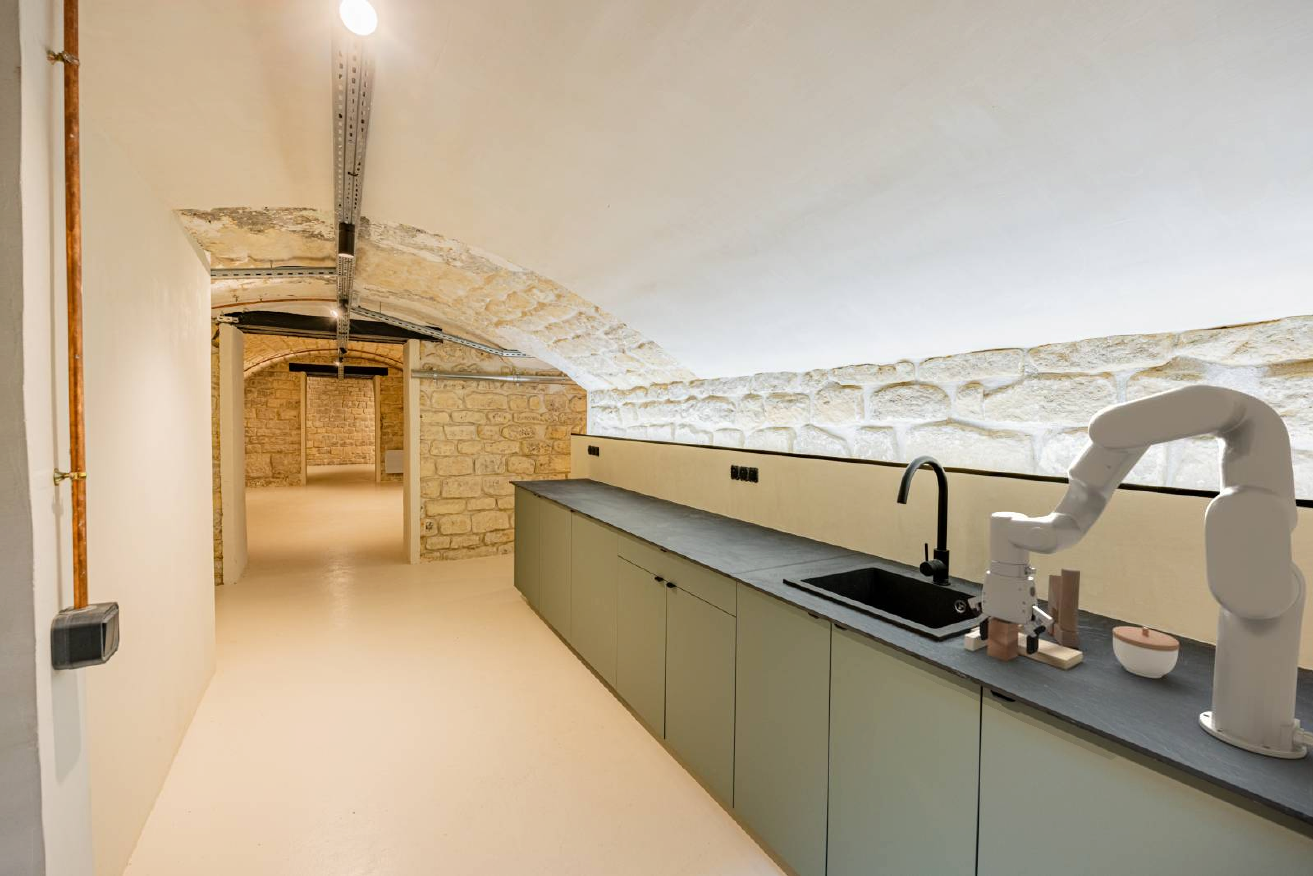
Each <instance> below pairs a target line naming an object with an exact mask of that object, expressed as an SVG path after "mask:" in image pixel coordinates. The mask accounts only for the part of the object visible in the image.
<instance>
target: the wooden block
mask: <svg viewBox="0 0 1313 876" xmlns="http://www.w3.org/2000/svg"><path fill="white" fill-rule="evenodd" d="M1080 582H1081V571H1080V570H1079V569H1078V568H1075V567H1062V568H1061V570H1060V575H1055V574H1049V575H1048V593H1047V611H1046V614H1047V615H1048V616H1050V617H1051V618H1052V619H1053V620H1054V621H1053V623H1052V624H1051V626H1050V627H1049V628H1048V630H1046V631H1047V632H1048V634H1050V635H1051V636H1053V639H1055V641H1056V642H1057V643H1058V645H1060V646H1064V647H1067V648H1072V649H1073V648H1074V649H1079V647H1080V633H1079V632H1078V622H1079V621H1078V619H1079V603H1080V586H1081V583H1080Z"/></svg>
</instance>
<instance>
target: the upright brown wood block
mask: <svg viewBox="0 0 1313 876" xmlns="http://www.w3.org/2000/svg"><path fill="white" fill-rule="evenodd" d="M1022 631H1026V629H1025V627H1024V626H1023V625H1019V624H1015V623H1012V622H1008V621H1004V620H1000V619H997V618H993V617H990V618H989V628H988V645H987V649H986V650H987V653H986V654H987V656H990V657H993V658H996V659H999V660H1002V661H1004V662H1008V661H1011V660H1013V659H1014V658H1017V657H1018V655H1019V654H1018V634H1019V633H1021V632H1022Z"/></svg>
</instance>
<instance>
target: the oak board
mask: <svg viewBox="0 0 1313 876" xmlns="http://www.w3.org/2000/svg"><path fill="white" fill-rule="evenodd" d="M977 630H979V626H977V627H975V628H971V629H970V633H972V632H975V631H977ZM1028 635H1029V634H1025V633H1021V632H1019V634H1018V654H1017V655H1021V656H1024V657H1027V658H1030V659H1033V660H1036V661H1039V662H1042V663H1045V664H1047V665H1049V666H1050V665H1051V666H1053V667H1057V668H1060V669H1062V670H1068V669H1070V668H1073V667H1074V666H1076V665H1078V664H1080V663H1082V662H1083V652H1082V651H1080V650H1076V649H1073V648H1071V647H1065V646H1061V645H1060V644H1056V643H1055V642H1054V643H1053V642H1050V641H1048V640H1043V639H1041V638H1039V648H1038V651H1036V653H1034V654H1031V655H1029V654H1027V653H1026V638H1027V636H1028Z"/></svg>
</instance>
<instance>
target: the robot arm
mask: <svg viewBox="0 0 1313 876" xmlns="http://www.w3.org/2000/svg"><path fill="white" fill-rule="evenodd" d="M1087 427H1088V428H1087V434H1088V437H1089V440H1088V441H1087V442H1086V444H1085V445H1084V446H1083V448H1082V449H1081V451H1080V452H1079V453H1078V454H1077V456H1076V457H1075V458H1074V460H1073V461H1072V462H1071V464H1070V465H1069V466H1068V469H1067V476H1068V477H1067V478H1068V488H1067V489H1066V491H1065V493H1064V495H1063V497H1062V498H1061V500H1060V501H1059V502H1058V504H1057V505H1056V507H1054V509H1053V510H1052V512H1051V513H1050V514H1049V515H1045V516H1040V517H1028V516H1027V515H1025V514H1023V513H1018V512H1014V511H1013V512H1011V511H1001V512H1000V511H999V512H994V513H992V514H991V516H990V518H989V562H988V564H989V567H988V569H989V570H988V571H986V573H985V576H984V579H983V586H982V593H981V595H978V596H975V597H971V598H968V599H967V602H968V604H969V607H970V608H971V612H972V613H973V615H974V616H975V617H976V621H977V622H979V626H978V627H979V633H980V635H981V640H983V641H984V640H987V639H988V628H989V619H991V618H997V619H1000V620H1004V621H1008V622H1012V623H1015V624H1019V625H1023V626H1024V627H1025V631H1026V632H1027V633H1028V634H1027V635H1028V636H1027V638H1026V653H1027V654H1029V655H1031V654H1034V653H1036V651H1038V648H1039V639H1040V635H1041V634H1043V633H1045V632H1046V631H1047V630H1048V628H1049V627H1050V626H1051V624H1052V623H1053V621H1054V620H1053V619H1052V618H1051V617H1050V616H1048V615H1047V612H1046V613H1045V612H1044V611H1043V610H1041V609H1040V608H1039V605H1038V594H1037V589H1036V588H1037V587H1036V583H1035V579H1034V578H1033V577H1032V576H1033V575H1034V576H1035V575H1036V574H1037V569H1036V568H1034V567H1032V566H1031V563H1030V552H1033V553H1036V554H1039V555H1040V554H1041V555H1050V554H1051V555H1052V554H1056V553H1058V552H1062V551H1065V550H1068V549H1071V548H1072V547H1075V546H1076V545H1077V544H1078V543H1080V542H1081V541H1082V539H1083V538H1084V537H1085V536H1086V535H1087V534H1088V533H1089V531H1090V530H1091V529H1092V527H1093V526H1094V525H1095V524H1096V523H1097V521H1098V520H1099V519H1100V517H1101V516H1102V514H1103V513H1104V511H1105V509H1106V507H1108V504H1109V502H1110V501H1111V499H1112V497H1113V495H1114V493H1115V491H1116V490H1117V489H1118V488H1119V486H1120V485H1121V484H1122V482H1124V480H1125V479H1126V477H1127V476H1128V474H1130V472H1131V470H1132V469H1133V468H1135V466H1136V464H1137V463H1138V462H1139V461H1140V460H1141V458H1142V457H1143V456H1144V454H1145V453H1146V452H1147V451H1148V450H1149V449H1150V448H1151V446H1154V445H1158V444H1165V443H1169V442H1174V441H1179V440H1182V439H1187V438H1193V437H1197V436H1199V437H1200V436H1207V435H1208V436H1212V437H1214V438H1215V440H1216V441H1217V443H1218V448H1219V451H1218V467H1219V468H1218V469H1219V474H1220V475H1219V476H1220V483H1219V484H1220V485H1219V486H1220V489H1219V490H1220V491H1219V494H1218V495H1217V496H1215V497H1214V498H1213V499H1212V500H1211V502H1210V503H1209V504H1208V506H1207V508H1206V511H1205V515H1204V523H1203V524H1204V527H1203V528H1204V543H1205V564H1206V565H1205V566H1206V568H1205V569H1206V579H1207V581H1206V582H1207V586H1208V589H1209V592H1210V594H1211V596H1212V598H1213V599H1214V601H1216V603H1218V605H1219V610H1218V616H1217V617H1218V618H1217V628H1216V629H1217V631H1216V637H1215V638H1216V640H1215V641H1216V642H1215V654H1214V672H1213V686H1212V698H1211V699H1212V701H1211V702H1212V703H1211V711H1210V710H1209V711H1204V712H1202V713H1200V714H1199V715H1198V724H1199V726H1200V727H1201V728H1202V729H1203V730H1205V732H1207V733H1209V734H1210V735H1212V736H1213V737H1215V738H1217V739H1218V740H1220V741H1223V742H1226V743H1228V744H1230V745H1233V746H1235V747H1238V748H1240V749H1243V750H1245V751H1250V752H1253V753H1256V754H1260V755H1264V756H1269V757H1275V758H1279V759H1280V758H1281V759H1299V758H1304V757H1305V756H1307V753H1308V750H1307V748H1308V749H1311V750H1313V733H1312V732H1308V731H1305V728H1302V727H1300V725H1301V720H1300V719H1298V718H1295V712H1296V710H1295V709H1296V700H1297V699H1296V697H1297V682H1298V669H1299V656H1300V649H1301V635H1302V628H1303V627H1302V626H1303V618H1304V612H1305V611H1304V610H1305V605H1306V604H1305V603H1306V595H1307V583H1306V579H1305V576H1304V574H1303V572H1302V571H1301V569H1300V568H1299V566H1298V565H1297V564H1296V563H1295V562H1294V561H1293V557H1292V555H1293V554H1292V552H1293V551H1292V535H1291V534H1293V532H1294V531H1295V529H1296V527H1297V526H1298V522H1299V514H1298V508H1297V503H1296V492H1295V491H1296V490H1295V479H1294V468H1293V460H1292V449H1291V442H1290V435H1289V432H1288V428H1287V427H1286V424H1285V422H1284V420H1283V419H1282V417H1281V416H1280V415H1279V413H1278V412H1277V411H1275V409H1273V407H1272V406H1270V405H1269V404H1268V403H1266V402H1265V401H1263V400H1261V399H1259V398H1257V397H1255V396H1253V395H1250V394H1247V393H1246V392H1242V391H1238V390H1237V389H1236V390H1235V389H1231V388H1227V387H1224V386H1217V385H1209V384H1193V385H1192V384H1191V385H1185V386H1181V387H1178V388H1173V389H1169V390H1166V391H1162V392H1158V393H1155V394H1151V395H1147V396H1144V397H1140V398H1137V399H1133V400H1129V401H1125V402H1120V403H1117V404H1116V403H1115V404H1114V405H1113V404H1112V405H1109V406H1107V407H1104V408H1102V409H1100V410H1098V411H1097V412H1096V413H1095V414H1093V416H1092V417H1091V419H1090V421H1089V423H1088V425H1087ZM1031 575H1032V576H1031ZM979 603H981V608H980V606H979ZM1038 619H1039V620H1041V624H1040V625H1039V626H1038V624H1037V623H1036V622H1037V621H1038Z"/></svg>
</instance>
